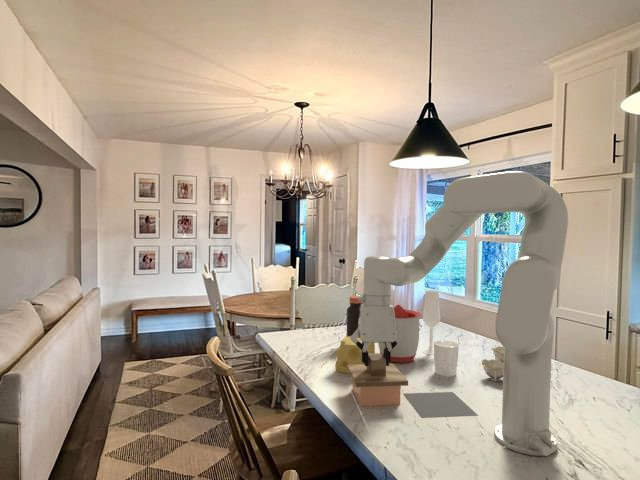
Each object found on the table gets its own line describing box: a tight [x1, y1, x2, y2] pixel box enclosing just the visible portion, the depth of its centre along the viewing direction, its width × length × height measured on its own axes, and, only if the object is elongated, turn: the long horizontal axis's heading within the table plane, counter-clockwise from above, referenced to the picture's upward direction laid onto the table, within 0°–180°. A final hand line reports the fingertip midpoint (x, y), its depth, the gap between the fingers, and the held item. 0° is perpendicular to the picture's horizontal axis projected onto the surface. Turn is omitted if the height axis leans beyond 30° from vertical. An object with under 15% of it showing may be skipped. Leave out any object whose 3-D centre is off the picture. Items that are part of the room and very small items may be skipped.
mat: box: [403, 391, 479, 419], centre depth 111 cm, size 15×15×1 cm
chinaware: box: [481, 346, 505, 382], centre depth 136 cm, size 28×17×17 cm, turn 152°
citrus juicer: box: [377, 304, 421, 364], centre depth 150 cm, size 16×17×20 cm
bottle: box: [346, 295, 363, 338], centre depth 165 cm, size 7×7×20 cm
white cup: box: [433, 340, 460, 377], centre depth 135 cm, size 8×8×10 cm
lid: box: [347, 352, 409, 387], centre depth 115 cm, size 14×14×6 cm
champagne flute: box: [421, 289, 442, 356], centre depth 158 cm, size 7×7×24 cm
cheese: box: [334, 336, 376, 375], centre depth 137 cm, size 10×11×10 cm
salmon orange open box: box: [351, 380, 402, 407], centre depth 115 cm, size 11×11×6 cm
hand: (375, 363), depth 115 cm, fingers open, 5 cm apart
